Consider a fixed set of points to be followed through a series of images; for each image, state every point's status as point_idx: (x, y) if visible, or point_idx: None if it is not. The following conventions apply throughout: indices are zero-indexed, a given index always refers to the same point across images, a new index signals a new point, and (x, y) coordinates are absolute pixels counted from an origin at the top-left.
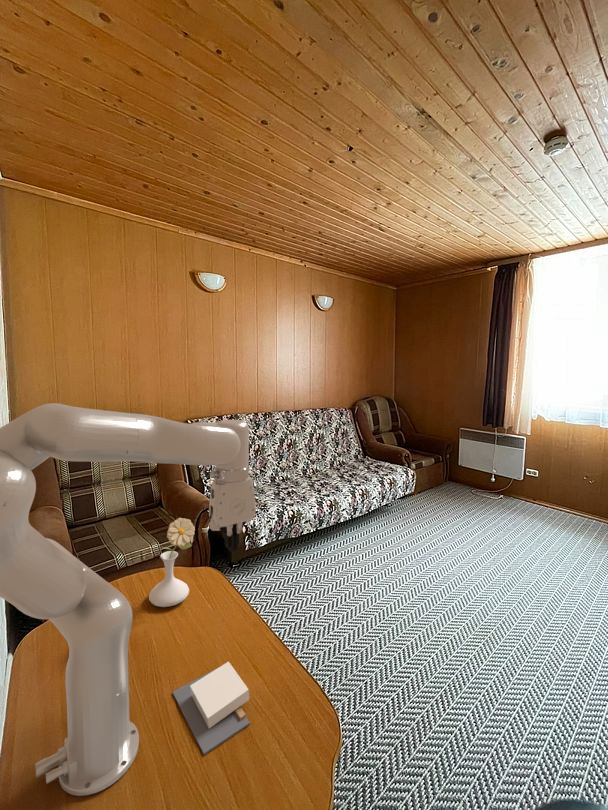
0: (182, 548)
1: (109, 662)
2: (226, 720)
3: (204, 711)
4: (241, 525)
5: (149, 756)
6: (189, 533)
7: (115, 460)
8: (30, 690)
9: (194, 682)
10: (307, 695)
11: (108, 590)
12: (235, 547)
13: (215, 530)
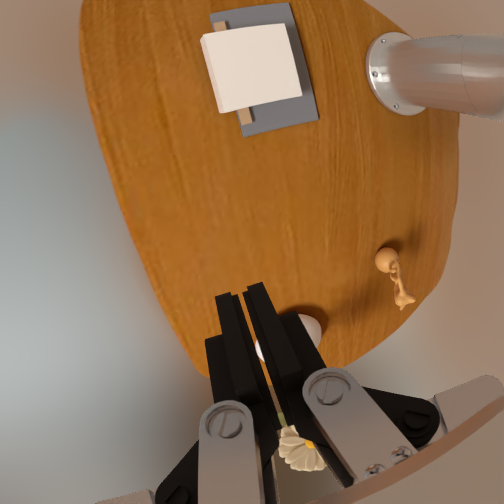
0: None
1: None
2: None
3: (287, 36)
4: (207, 475)
5: (353, 39)
6: (292, 439)
7: None
8: (447, 207)
9: (282, 122)
10: (95, 39)
11: None
12: (238, 305)
13: (465, 385)
